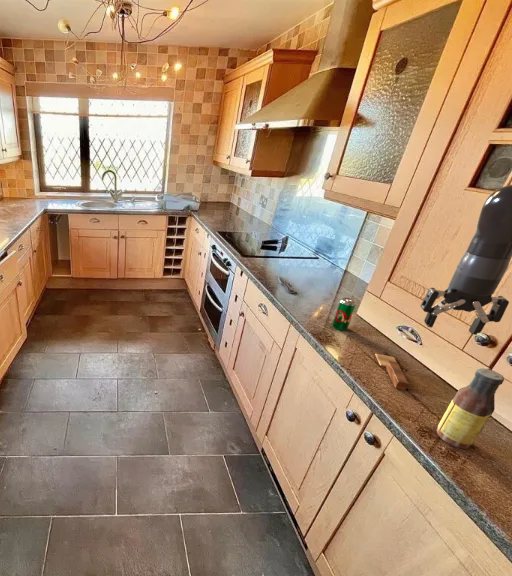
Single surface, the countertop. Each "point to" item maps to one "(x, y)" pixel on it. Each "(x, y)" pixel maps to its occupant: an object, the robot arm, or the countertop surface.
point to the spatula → (393, 371)
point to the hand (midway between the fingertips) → (450, 329)
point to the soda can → (344, 314)
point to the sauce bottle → (470, 409)
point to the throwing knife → (286, 285)
